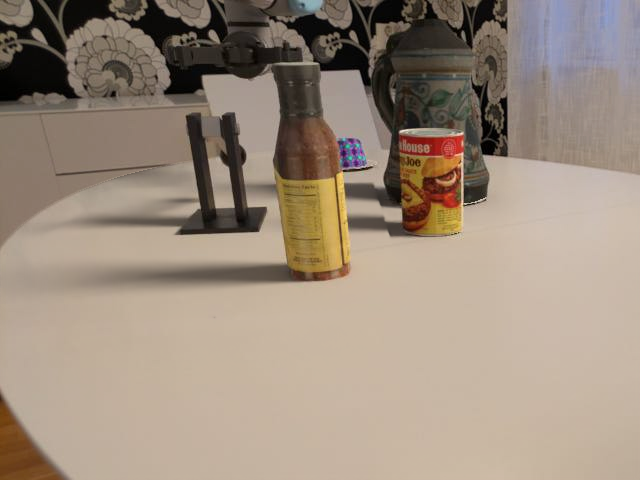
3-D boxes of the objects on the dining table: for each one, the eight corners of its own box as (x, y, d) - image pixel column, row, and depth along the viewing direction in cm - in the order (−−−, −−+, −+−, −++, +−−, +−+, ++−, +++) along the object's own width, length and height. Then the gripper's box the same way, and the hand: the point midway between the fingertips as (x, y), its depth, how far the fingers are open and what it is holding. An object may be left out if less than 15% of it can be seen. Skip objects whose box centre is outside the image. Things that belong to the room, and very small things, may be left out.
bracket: (199, 218, 91) (181, 110, 85) (268, 216, 93) (254, 109, 87) (181, 240, 80) (159, 118, 75) (259, 237, 82) (244, 117, 76)
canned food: (393, 225, 88) (389, 129, 83) (448, 219, 92) (447, 127, 87) (416, 239, 82) (413, 136, 77) (474, 232, 85) (474, 133, 80)
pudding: (357, 161, 140) (355, 134, 138) (389, 168, 132) (388, 140, 129) (304, 166, 133) (302, 138, 131) (334, 174, 124) (332, 144, 122)
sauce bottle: (319, 266, 71) (300, 61, 63) (365, 275, 68) (351, 62, 60) (273, 282, 66) (245, 61, 58) (320, 293, 63) (298, 63, 55)
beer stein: (480, 210, 97) (482, 16, 87) (351, 205, 100) (338, 16, 89) (496, 189, 112) (499, 22, 102) (383, 185, 115) (375, 21, 104)
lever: (223, 171, 97) (221, 145, 97) (249, 170, 97) (247, 145, 97) (196, 142, 80) (193, 111, 80) (228, 141, 81) (225, 110, 80)
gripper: (321, 78, 121) (318, 83, 102) (174, 78, 117) (143, 84, 98) (317, 31, 118) (314, 28, 99) (166, 30, 114) (132, 26, 95)
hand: (229, 56), depth 98 cm, fingers open, 13 cm apart
